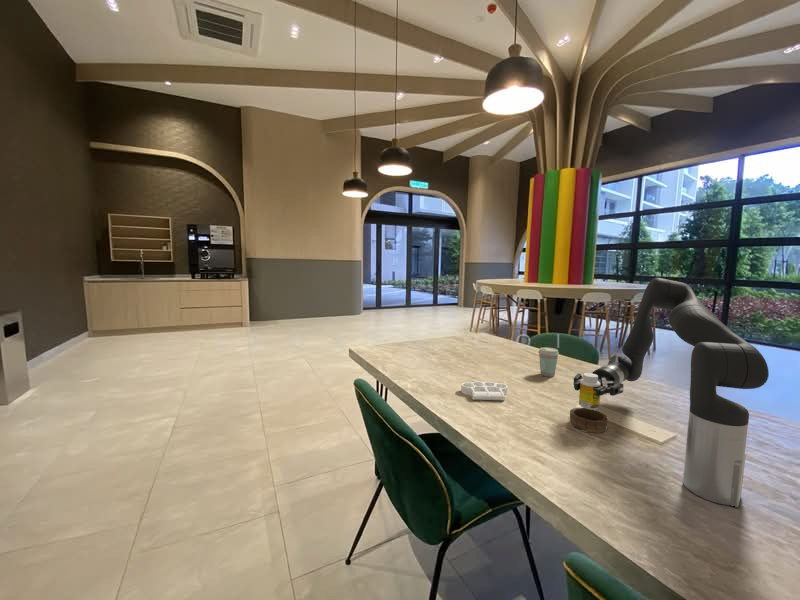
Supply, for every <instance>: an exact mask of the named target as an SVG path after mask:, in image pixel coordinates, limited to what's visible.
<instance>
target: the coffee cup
mask: <svg viewBox="0 0 800 600" xmlns="http://www.w3.org/2000/svg"><path fill="white" fill-rule="evenodd" d="M538 356H539V358H538V359H539V370H540V375H541V376H543V375H544V376H543V377H547V376H549V378H551V377H552V376H553V377H555V375H556V369H557V363H558V357H559V356H560V353H559V350H558V349H557V348H553V347H547V346H546V347H539V349H538Z"/></svg>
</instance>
